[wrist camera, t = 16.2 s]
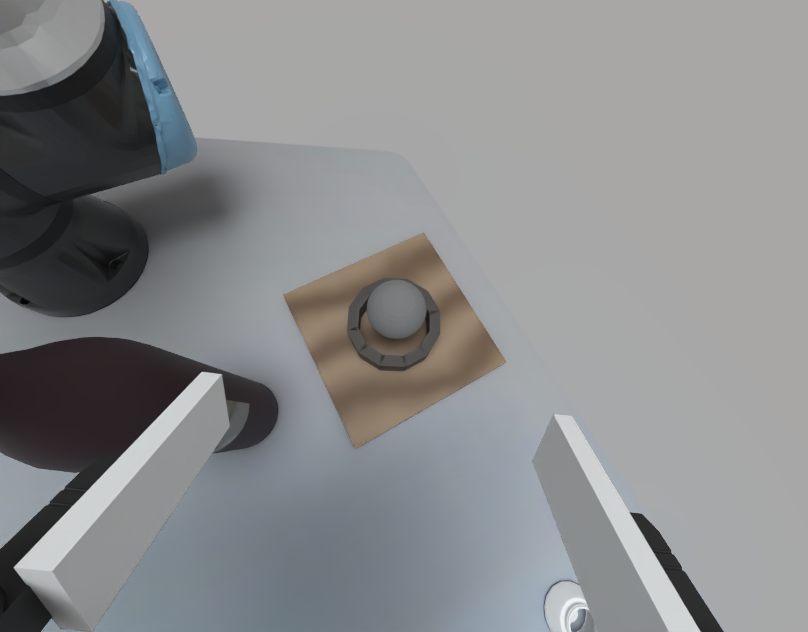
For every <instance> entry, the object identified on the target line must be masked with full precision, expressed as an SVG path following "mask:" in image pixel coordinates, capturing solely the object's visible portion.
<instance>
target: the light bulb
mask: <svg viewBox="0 0 808 632" xmlns="http://www.w3.org/2000/svg"><path fill="white" fill-rule="evenodd" d="M426 311H427V310H426V302H425V299H424V297H423V295H422V293H421V292H420V291H419V289H418V288H417V287H415V286H414V285H413V284H411V283H409V282H406V281H403V280H390V281H386V282H384V283H382V284H380V285H379V286H377V287H376V288H375V289H374V290H373V292H372V293H371V295H370V297H369V299H368V302H367V316H368V319H369V322H370V324H371V325H372V327H373V328H374V329H375V330H376V331H377V332H378V333H379V334H381V335H382V336H384V337H387V338H391V339H402V338H406V337H409V336H411V335H412V334H414V333H415V332H417V330H418V329H419V328H420V327H421V326H422V324H423V322H424V320H425V317H426Z"/></svg>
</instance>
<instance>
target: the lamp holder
mask: <svg viewBox="0 0 808 632" xmlns="http://www.w3.org/2000/svg"><path fill="white" fill-rule="evenodd" d="M390 280H403V281H406V282H409V283H411V284H413V285H414V286H415V287H417V288H418V289H419V291H420V292H421V293H422V295H423V297H424V299H425V302H426V310H427V311H426V317H425V320H424V322H423V324H422V326H421V327H420V328H419V329H418V330H417V332H415V333H414V334H412V335H411V336H409V337H406V338H402V339H391V338H387V337H384V336H382V335H381V334H379V333H378V332H377V331H376V330H375V329H374V328H373V327H372V325H371V324H370V322H369V319H368V316H367V302H368V299H369V297H370V295H371V293H372V292H373V290H374V289H375V288H376V287H377V286H379V285H380V284H382V283H384V282H386V281H390ZM283 296H284V298H285V300H286V302H287V304H288V306H289V308H290V311H291V313H292V315H293V317H294V319H295V321H296V323H297V326H298V328H299V330H300V332H301V334H302V336H303V338H304V340H305V343H306V345H307V347H308V349H309V351H310V353H311V355H312V358H313V360H314V362H315V364H316V366H317V368H318V370H319V373H320V375H321V377H322V379H323V381H324V383H325V385H326V387H327V390H328V392H329V394H330V396H331V398H332V400H333V402H334V405H335V407H336V409H337V411H338V413H339V415H340V417H341V420H342V422H343V424H344V426H345V428H346V430H347V432H348V434H349V437H350V439H351V441H352V443H353V445H354V447H355V449H356V448H357V447H359V446H361V445H363V444H364V443H366V442H368V441H369V440H371V439H373V438H375V437H376V436H378V435H380V434H382V433H383V432H385V431H387V430H389V429H390V428H392V427H394V426H396V425H397V424H399V423H401V422H403V421H404V420H406V419H408V418H409V417H411V416H413V415H415V414H416V413H418V412H420V411H422V410H423V409H425V408H427V407H429V406H430V405H432V404H434V403H436V402H437V401H439V400H441V399H443V398H444V397H446V396H448V395H449V394H451V393H453V392H455V391H456V390H458V389H460V388H462V387H463V386H465V385H467V384H469V383H470V382H472V381H474V380H476V379H477V378H479V377H481V376H483V375H484V374H486V373H488V372H489V371H491V370H493V369H495V368H496V367H498V366H500V365H502V364H503V363H505V362H506V360H505V359H504V357H503V356H502V354H501V353H500V351H499V349H498V348H497V346H496V345H495V343H494V342H493V340H492V339H491V337H490V335H489V334H488V332H487V331H486V329H485V328H484V326H483V324H482V323H481V321H480V320H479V318H478V317H477V315H476V313H475V312H474V310H473V309H472V307H471V306H470V304H469V302H468V301H467V299H466V298H465V296H464V295H463V293H462V291H461V290H460V288H459V287H458V285H457V284H456V282H455V281H454V279H453V277H452V276H451V274H450V273H449V271H448V270H447V268H446V266H445V265H444V263H443V262H442V260H441V259H440V257H439V255H438V254H437V252H436V251H435V249H434V248H433V246H432V244H431V243H430V241H429V240H428V238H427V237H426V235H425V233H421V234H419V235H417V236H415V237H412V238H410V239H408V240H406V241H403V242H401V243H399V244H397V245H394V246H392V247H390V248H388V249H385V250H383V251H381V252H379V253H376V254H374V255H372V256H370V257H367V258H365V259H363V260H361V261H358V262H356V263H354V264H352V265H349V266H347V267H345V268H343V269H340V270H338V271H336V272H334V273H331V274H329V275H327V276H325V277H322V278H320V279H318V280H316V281H313V282H311V283H309V284H307V285H304V286H302V287H300V288H298V289H295V290H293V291H291V292H289V293H286V294H284V295H283Z"/></svg>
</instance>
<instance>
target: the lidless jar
mask: <svg viewBox="0 0 808 632" xmlns="http://www.w3.org/2000/svg"><path fill="white" fill-rule="evenodd" d="M544 609H545V618H546V621H547V623H548V626H549V628H550V630H551V632H571V628H570V623H573V622H575V621H576V619H577V617H578V609H585V611H586V617H585V623H584V624H583V626H582V628H581V629H580V630H578V631H577V632H597V629H596V627H595V624H594V621H593V619H592V616H591V613H590V611H589V608H588V606H587V603H586V600H585V598H584V595H583V593H582V590H581V587H580V585H577V584H575V583H573V582H571V581H561V582H559V583H557V584H556V585H554V586H552V588H551V589H550V591H549V592H548V594H547V596H546V601H545V605H544Z"/></svg>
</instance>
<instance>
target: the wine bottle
mask: <svg viewBox="0 0 808 632" xmlns="http://www.w3.org/2000/svg"><path fill="white" fill-rule="evenodd" d="M201 372H208V373H216V374H222V378H223V385H224V391H225V398H226V404H227V411H228V418H229V424H230V427H229V428H228V430H227V431H226V433H225V434H224V436H223V437H222V439H221V440H220V442H219V443H218V445H217V446H216V448H215V449H214V451H213V452H212V454H213V453H219V452H225V451H231V450H237V449H243V448H248V447H251V446H253V445H255V444H257V443H259V442H260V441H262V440H263V439H264V438H265V437H266V436H267V435H268V434H269V433H270V431H271V430H272V428H273V427H274V424H275V422H276V419H277V413H278V408H277V402H276V399H275V397H274V395H273V394H272V392H271V391H270V390H269V389H268V388H267V387H266V386H264V385H262V384H260V383H257V382H254V381H251V380H249V379H246V378H243V377H240V376H237V375H234V374H231V373H229V372H226V371H223V370H220V369H217V368H214V367H211V366H208V365H206V364H203V363H200V362H197V361H194V360H191V359H188V358H186V357H183V356H180V355H177V354H174V353H171V352H168V351H165V350H163V349H160V348H157V347H154V346H151V345H148V344H144V343H140V342H136V341H132V340H127V339H120V338H106V337H86V338H77V339H70V340H63V341H58V342H53V343H49V344H45V345H41V346H38V347H34V348H30V349H27V350H21V351H15V352H9V353H4V354H0V452H1V453H3V454H4V455H6V456H8V457H11V458H13V459H16V460H18V461H20V462H23V463H25V464H28V465H31V466H33V467H36V468H41V469H49V470H57V471H64V472H72V473H77V472H81V471H82V470H83V469H85V468H86V467H88V466H90V465H91V464H93V463H94V462H96V461H98V460H99V459H101V458H102V457H104V456H115V457H120V456H121V455H122V454H123V453H124V452H125V451H126V450H127V449H128V448H129V447H130V446H131V445H132V444H133V443H134V442H135V441H136V440H137V439H138V438H139V437H140V436H141V435H142V433H143V432H144V431H145V430H146V429H147V428H148V427H149V426H150V425H151V424H152V423H153V422H154V421H155V420H156V419H157V418H158V417H159V416H160V415H161V414H162V413H163V412H164V411H165V410H166V409H167V407H168V406H169V405H170V404H171V403H172V402H173V401H174V400H175V399H176V398H177V397H178V396H179V395H180V394H181V393H182V392H183V391H184V390H185V389H186V388H187V387H188V386H189V385H190V384H191V383H192V382H193V380H194V379H195V378H196V377H197V376H198V375H199V374H200V373H201Z"/></svg>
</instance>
